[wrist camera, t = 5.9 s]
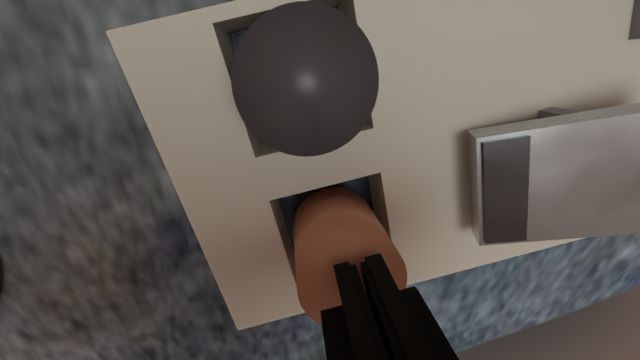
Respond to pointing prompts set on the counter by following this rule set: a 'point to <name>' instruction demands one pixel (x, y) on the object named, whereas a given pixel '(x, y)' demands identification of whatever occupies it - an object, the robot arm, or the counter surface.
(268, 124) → the black button
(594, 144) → the rocker
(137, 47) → the panel
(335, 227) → the terracotta button
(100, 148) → the counter surface
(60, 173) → the counter surface
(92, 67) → the counter surface
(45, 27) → the counter surface
